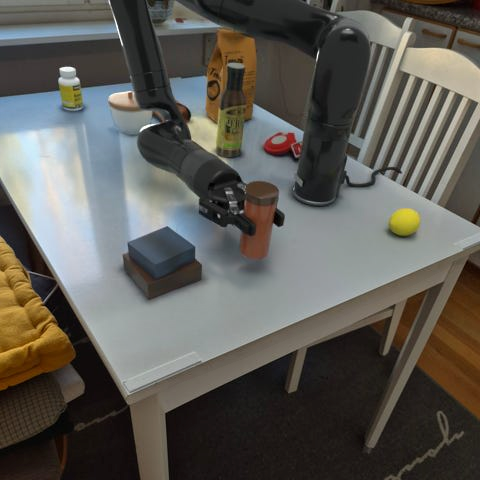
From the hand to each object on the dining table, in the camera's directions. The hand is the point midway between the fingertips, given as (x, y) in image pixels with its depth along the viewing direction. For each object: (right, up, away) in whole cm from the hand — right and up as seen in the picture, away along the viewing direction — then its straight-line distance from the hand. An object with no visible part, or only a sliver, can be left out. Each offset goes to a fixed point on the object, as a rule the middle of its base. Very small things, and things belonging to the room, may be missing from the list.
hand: (268, 226), depth 73 cm
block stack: (-18, -7, +6) cm, 20 cm away
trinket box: (-32, +34, +48) cm, 67 cm away
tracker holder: (+7, +27, +45) cm, 53 cm away
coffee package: (-8, +42, +59) cm, 73 cm away
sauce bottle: (-7, +26, +42) cm, 50 cm away
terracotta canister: (-2, -3, +6) cm, 7 cm away
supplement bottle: (-50, +43, +55) cm, 86 cm away
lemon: (+28, +3, +22) cm, 36 cm away
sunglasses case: (-26, +43, +58) cm, 77 cm away
